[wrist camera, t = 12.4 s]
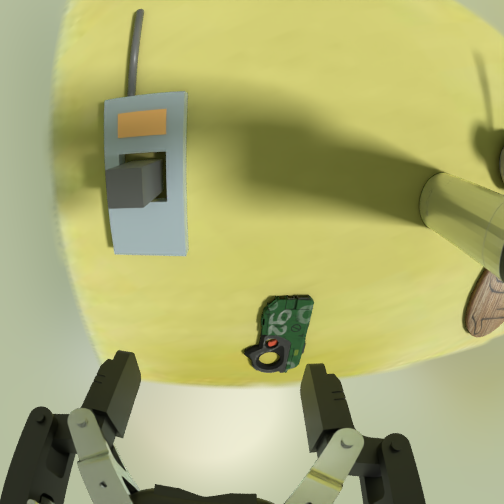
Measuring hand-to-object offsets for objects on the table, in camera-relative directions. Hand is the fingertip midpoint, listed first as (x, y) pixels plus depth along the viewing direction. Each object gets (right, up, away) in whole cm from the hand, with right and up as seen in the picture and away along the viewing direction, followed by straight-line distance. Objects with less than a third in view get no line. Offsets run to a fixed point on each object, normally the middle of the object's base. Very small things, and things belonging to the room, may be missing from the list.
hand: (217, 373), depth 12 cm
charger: (-11, +15, +20) cm, 27 cm away
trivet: (+60, -3, +33) cm, 68 cm away
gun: (+5, -8, +32) cm, 33 cm away
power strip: (-11, +21, +17) cm, 29 cm away
